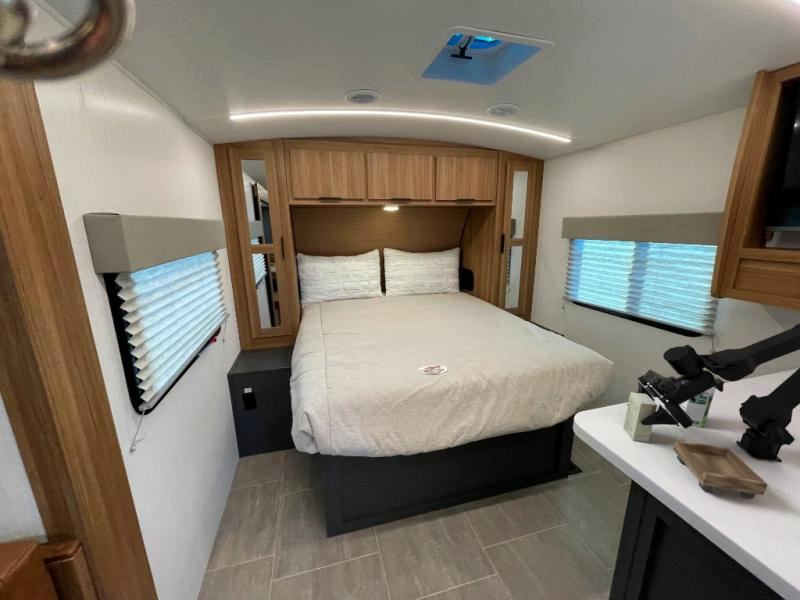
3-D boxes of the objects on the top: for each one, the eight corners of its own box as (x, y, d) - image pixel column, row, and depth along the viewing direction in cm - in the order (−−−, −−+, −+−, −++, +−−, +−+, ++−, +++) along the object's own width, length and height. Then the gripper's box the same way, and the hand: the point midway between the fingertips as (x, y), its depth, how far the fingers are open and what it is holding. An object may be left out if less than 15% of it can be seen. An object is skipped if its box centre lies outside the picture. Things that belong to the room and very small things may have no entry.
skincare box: (649, 443, 91) (659, 405, 87) (632, 440, 92) (641, 403, 88) (637, 428, 97) (646, 393, 94) (621, 426, 98) (630, 391, 94)
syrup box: (680, 423, 100) (693, 382, 96) (673, 412, 105) (684, 373, 101) (704, 428, 98) (717, 386, 94) (695, 417, 103) (707, 376, 99)
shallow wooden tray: (722, 465, 83) (728, 448, 81) (759, 503, 72) (767, 484, 71) (671, 457, 85) (676, 440, 84) (699, 493, 74) (706, 474, 73)
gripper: (651, 350, 96) (604, 378, 101) (691, 381, 78) (631, 413, 84) (675, 377, 96) (626, 404, 102) (719, 414, 79) (658, 444, 84)
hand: (634, 414), depth 93 cm, fingers open, 8 cm apart
